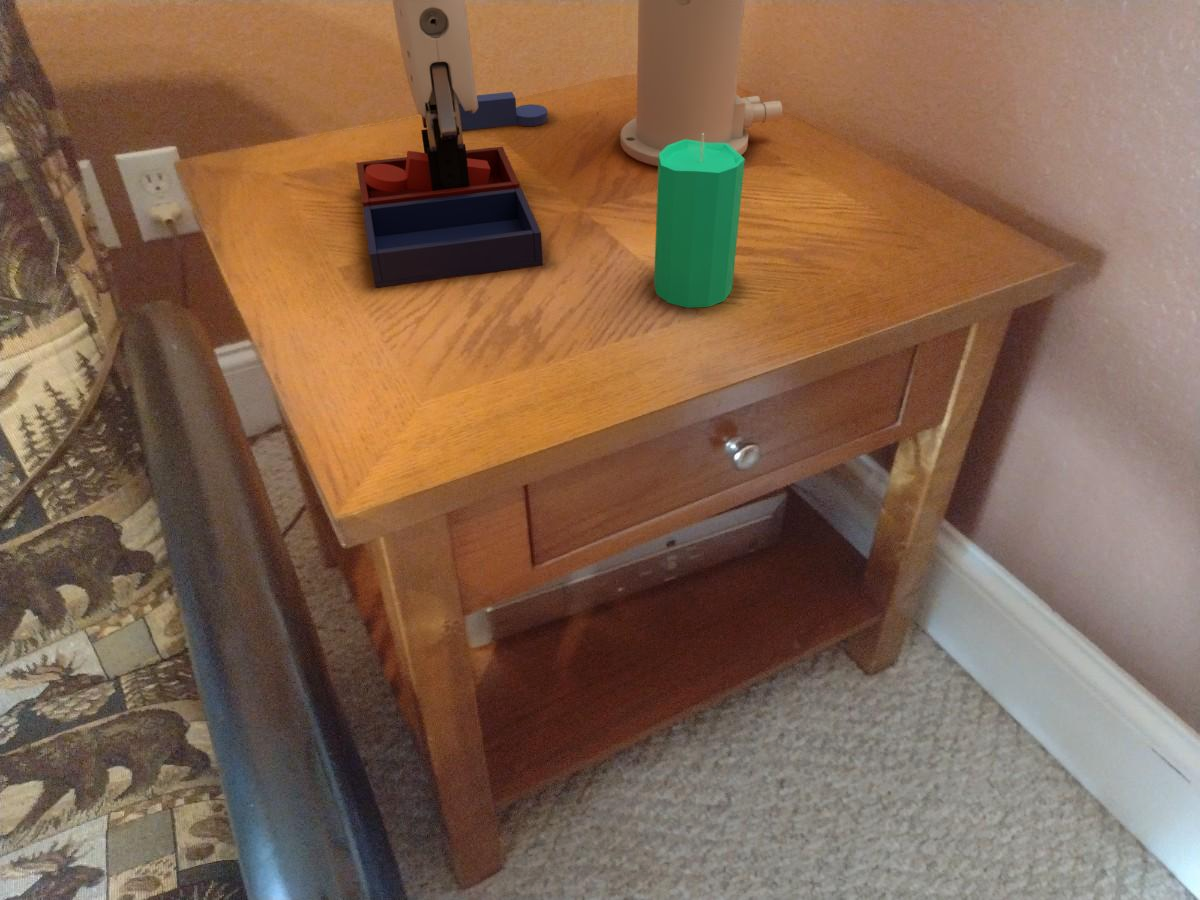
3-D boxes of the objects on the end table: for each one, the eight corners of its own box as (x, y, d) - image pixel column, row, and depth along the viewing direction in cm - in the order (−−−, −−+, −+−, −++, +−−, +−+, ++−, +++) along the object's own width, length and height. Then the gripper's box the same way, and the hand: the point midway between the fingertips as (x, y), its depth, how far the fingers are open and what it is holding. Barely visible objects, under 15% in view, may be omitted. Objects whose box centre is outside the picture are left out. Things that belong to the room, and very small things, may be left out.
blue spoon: (451, 135, 93) (448, 107, 91) (446, 122, 96) (443, 95, 94) (551, 124, 95) (549, 97, 93) (543, 112, 98) (542, 85, 96)
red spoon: (480, 186, 83) (485, 156, 81) (487, 203, 80) (492, 172, 79) (363, 172, 79) (365, 140, 78) (366, 189, 77) (368, 157, 75)
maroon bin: (505, 176, 85) (502, 146, 84) (521, 215, 79) (519, 183, 78) (362, 192, 83) (356, 162, 81) (367, 234, 77) (361, 202, 75)
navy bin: (523, 219, 79) (521, 187, 77) (543, 265, 73) (541, 231, 71) (368, 238, 76) (362, 206, 75) (375, 287, 70) (369, 254, 69)
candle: (727, 311, 67) (743, 154, 60) (647, 303, 68) (652, 147, 61) (735, 271, 72) (750, 120, 64) (660, 264, 73) (665, 114, 65)
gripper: (487, -27, 63) (507, 219, 75) (455, -77, 75) (476, 141, 87) (377, -19, 61) (415, 230, 73) (362, -71, 73) (397, 150, 86)
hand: (448, 180), depth 80 cm, fingers open, 3 cm apart
